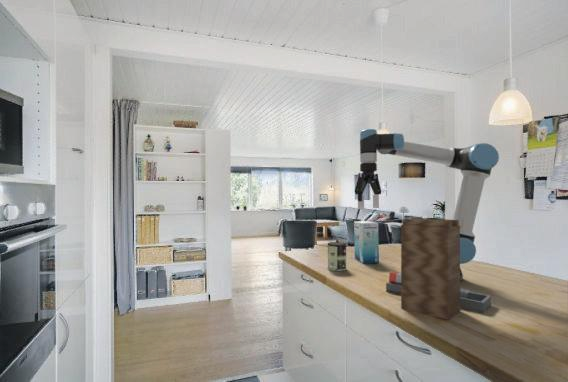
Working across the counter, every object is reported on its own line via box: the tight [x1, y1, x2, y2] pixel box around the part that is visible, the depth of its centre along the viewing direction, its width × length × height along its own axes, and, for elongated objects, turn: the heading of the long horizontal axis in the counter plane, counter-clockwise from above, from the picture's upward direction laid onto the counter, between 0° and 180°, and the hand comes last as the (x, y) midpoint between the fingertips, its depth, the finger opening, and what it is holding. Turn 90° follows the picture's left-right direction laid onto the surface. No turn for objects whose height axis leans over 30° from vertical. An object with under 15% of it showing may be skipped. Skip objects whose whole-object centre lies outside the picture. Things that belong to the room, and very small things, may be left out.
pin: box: [388, 270, 471, 299], centre depth 132 cm, size 30×4×4 cm, turn 47°
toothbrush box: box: [353, 220, 380, 264], centre depth 203 cm, size 18×10×24 cm, turn 4°
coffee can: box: [327, 241, 347, 272], centre depth 180 cm, size 10×10×14 cm
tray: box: [385, 281, 492, 314], centre depth 130 cm, size 36×11×4 cm, turn 46°
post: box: [400, 217, 461, 321], centre depth 117 cm, size 16×12×32 cm
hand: (368, 208), depth 153 cm, fingers open, 13 cm apart
